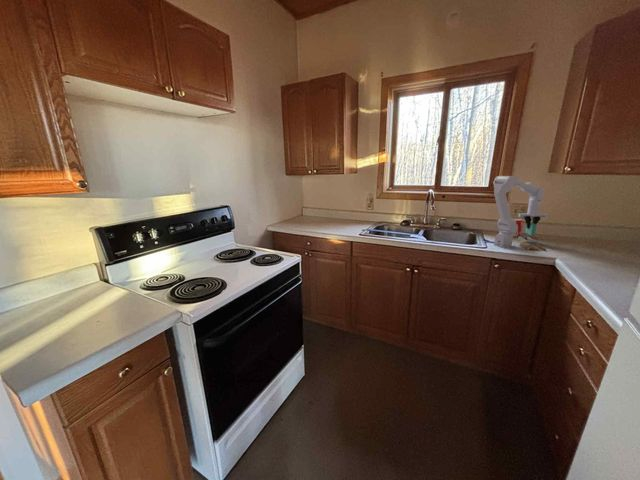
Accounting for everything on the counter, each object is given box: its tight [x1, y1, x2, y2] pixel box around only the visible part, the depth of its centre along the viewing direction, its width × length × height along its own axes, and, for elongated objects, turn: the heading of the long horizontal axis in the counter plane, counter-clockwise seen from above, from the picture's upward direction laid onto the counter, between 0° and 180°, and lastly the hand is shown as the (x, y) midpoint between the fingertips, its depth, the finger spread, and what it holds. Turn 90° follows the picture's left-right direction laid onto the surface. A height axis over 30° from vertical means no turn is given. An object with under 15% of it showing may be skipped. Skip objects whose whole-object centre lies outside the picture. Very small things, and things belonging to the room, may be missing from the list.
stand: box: [517, 236, 538, 246], centre depth 174 cm, size 6×12×3 cm, turn 164°
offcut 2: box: [522, 243, 531, 251], centre depth 161 cm, size 2×4×3 cm, turn 164°
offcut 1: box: [519, 240, 527, 249], centre depth 165 cm, size 2×4×4 cm, turn 164°
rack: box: [519, 243, 547, 252], centre depth 162 cm, size 10×10×2 cm
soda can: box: [513, 218, 524, 238], centre depth 192 cm, size 7×7×12 cm
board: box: [524, 221, 538, 237], centre depth 171 cm, size 2×9×7 cm, turn 163°
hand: (530, 228), depth 171 cm, fingers closed on board, 2 cm apart
